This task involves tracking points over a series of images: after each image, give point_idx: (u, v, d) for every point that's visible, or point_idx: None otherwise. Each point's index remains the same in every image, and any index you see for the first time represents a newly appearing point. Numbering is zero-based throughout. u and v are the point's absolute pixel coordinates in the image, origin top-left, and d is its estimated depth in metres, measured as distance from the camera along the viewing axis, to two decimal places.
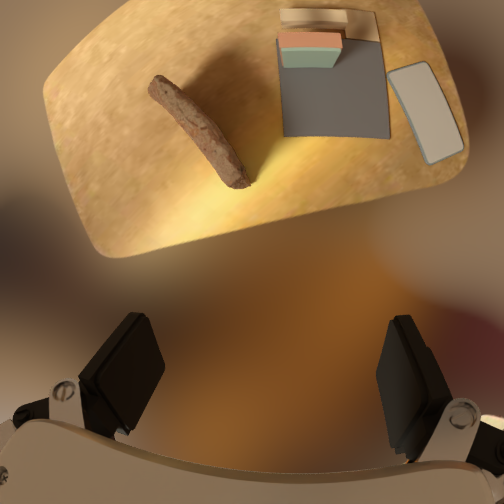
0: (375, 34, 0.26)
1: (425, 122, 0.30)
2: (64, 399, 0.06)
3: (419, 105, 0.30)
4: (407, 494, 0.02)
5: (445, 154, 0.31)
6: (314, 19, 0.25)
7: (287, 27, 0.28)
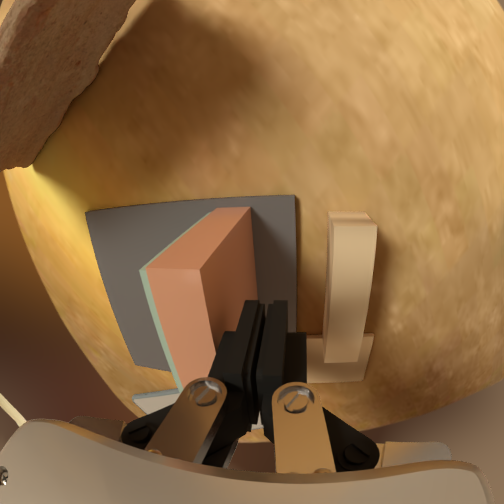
0: (312, 379, 0.20)
1: None
2: (199, 399, 0.07)
3: None
4: (407, 494, 0.02)
5: None
6: (334, 304, 0.15)
7: (328, 226, 0.15)
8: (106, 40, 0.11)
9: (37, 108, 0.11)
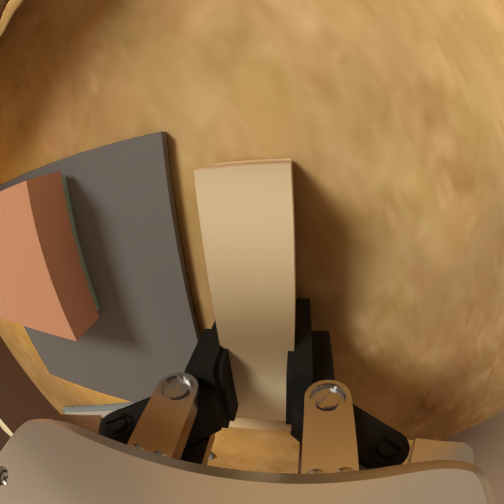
0: (245, 424, 0.13)
1: None
2: (173, 394, 0.07)
3: None
4: (407, 494, 0.02)
5: None
6: (226, 329, 0.08)
7: None
8: None
9: None
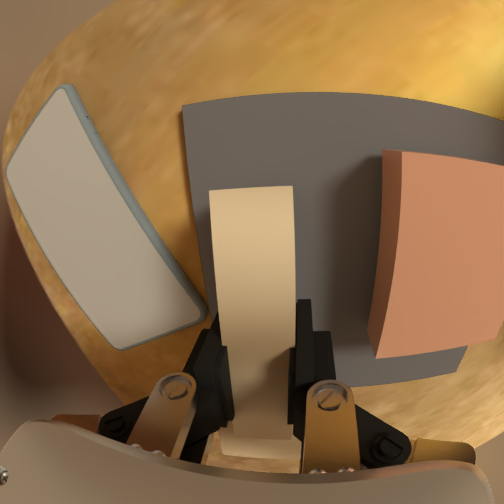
0: (242, 452, 0.12)
1: (80, 196, 0.12)
2: (171, 394, 0.07)
3: (104, 240, 0.12)
4: (407, 494, 0.02)
5: (30, 133, 0.11)
6: (230, 341, 0.08)
7: None
8: None
9: None
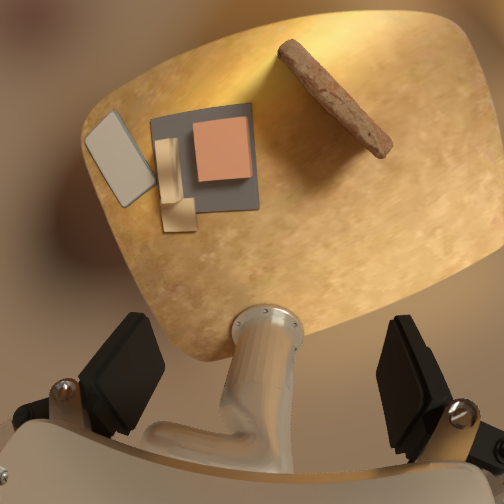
0: (170, 228, 0.41)
1: (119, 146, 0.37)
2: (64, 399, 0.06)
3: (126, 160, 0.38)
4: (407, 494, 0.02)
5: (99, 126, 0.36)
6: (159, 171, 0.35)
7: None
8: None
9: None
